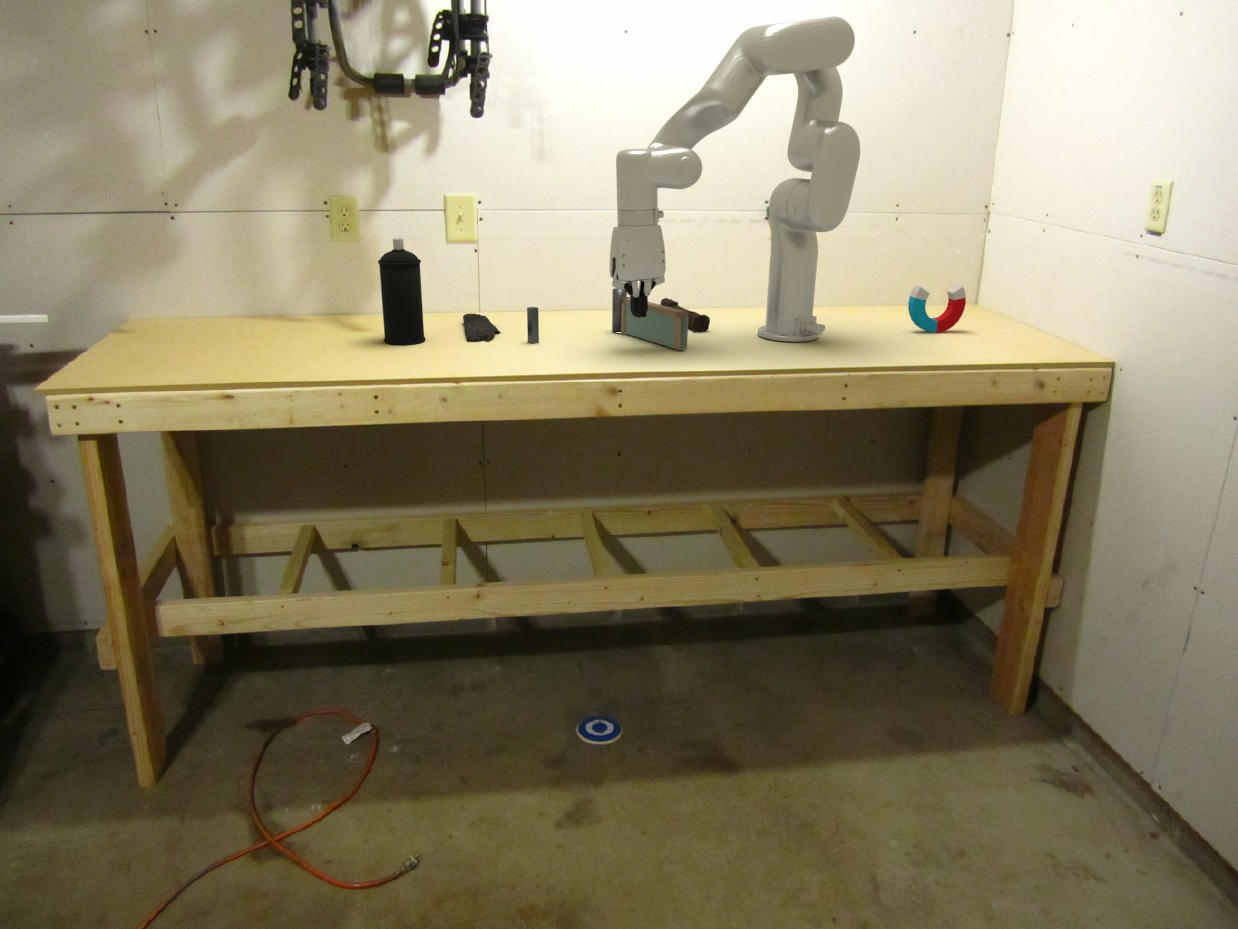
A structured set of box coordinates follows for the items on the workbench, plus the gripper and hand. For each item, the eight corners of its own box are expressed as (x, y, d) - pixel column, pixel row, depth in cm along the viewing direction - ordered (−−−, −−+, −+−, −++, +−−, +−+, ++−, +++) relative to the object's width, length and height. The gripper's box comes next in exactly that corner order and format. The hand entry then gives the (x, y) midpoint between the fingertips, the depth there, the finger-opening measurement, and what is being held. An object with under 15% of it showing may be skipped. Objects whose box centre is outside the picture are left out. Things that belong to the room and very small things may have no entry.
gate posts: (629, 332, 198) (629, 289, 195) (534, 344, 186) (533, 299, 183) (621, 329, 200) (621, 287, 197) (527, 341, 188) (526, 296, 185)
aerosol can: (434, 341, 188) (428, 239, 181) (399, 347, 182) (392, 242, 175) (409, 334, 193) (403, 235, 186) (375, 340, 188) (367, 238, 181)
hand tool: (710, 332, 200) (711, 311, 198) (693, 334, 199) (694, 312, 197) (671, 316, 216) (672, 296, 215) (656, 317, 215) (656, 297, 213)
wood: (504, 343, 189) (503, 328, 188) (466, 344, 187) (466, 329, 186) (495, 321, 209) (495, 308, 208) (462, 322, 208) (461, 308, 207)
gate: (628, 331, 197) (629, 296, 195) (687, 348, 183) (688, 311, 180) (620, 332, 196) (621, 297, 194) (679, 349, 182) (680, 313, 179)
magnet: (909, 333, 201) (915, 286, 197) (904, 330, 203) (910, 284, 200) (961, 332, 202) (968, 286, 199) (955, 330, 205) (962, 284, 201)
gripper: (663, 214, 181) (664, 308, 188) (592, 219, 175) (596, 317, 182) (682, 217, 175) (682, 315, 181) (609, 223, 169) (612, 324, 176)
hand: (639, 315), depth 182 cm, fingers closed
